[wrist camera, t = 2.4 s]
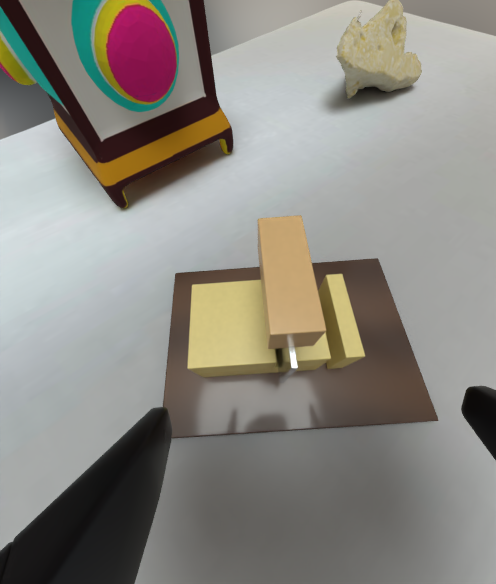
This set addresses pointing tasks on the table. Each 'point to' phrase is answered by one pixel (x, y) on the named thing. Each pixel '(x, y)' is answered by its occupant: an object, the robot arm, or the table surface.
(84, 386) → the table surface
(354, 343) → the butter slice
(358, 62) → the cream rough rock
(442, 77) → the table surface
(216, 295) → the butter block
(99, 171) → the decorative lantern
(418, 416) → the board
